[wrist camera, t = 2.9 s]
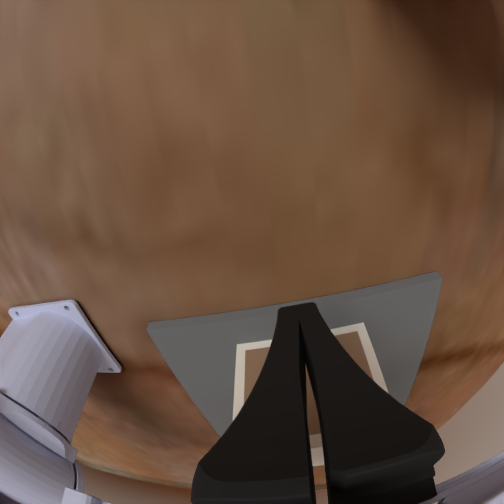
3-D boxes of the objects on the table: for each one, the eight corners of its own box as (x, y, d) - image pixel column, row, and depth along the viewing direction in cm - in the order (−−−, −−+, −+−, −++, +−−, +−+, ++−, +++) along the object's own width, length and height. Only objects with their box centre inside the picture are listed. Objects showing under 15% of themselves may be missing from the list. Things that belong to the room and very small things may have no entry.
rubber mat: (222, 432, 28) (221, 438, 28) (149, 322, 19) (146, 330, 19) (401, 402, 26) (403, 408, 25) (437, 271, 17) (442, 277, 16)
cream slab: (248, 373, 21) (246, 472, 14) (236, 342, 19) (229, 454, 12) (361, 354, 20) (388, 450, 13) (363, 320, 18) (399, 427, 11)
